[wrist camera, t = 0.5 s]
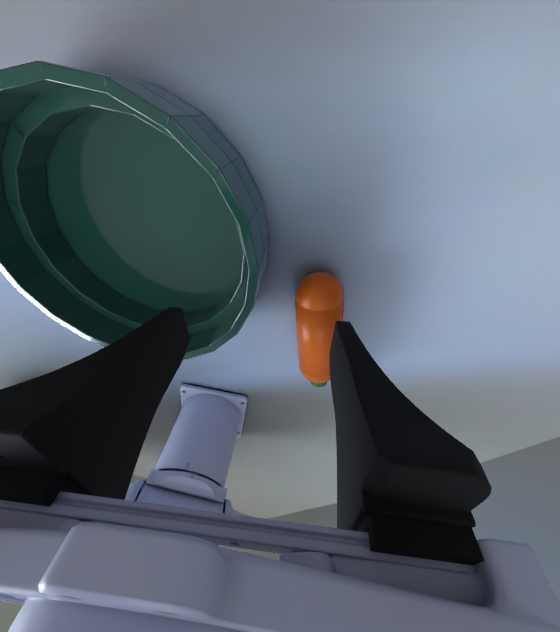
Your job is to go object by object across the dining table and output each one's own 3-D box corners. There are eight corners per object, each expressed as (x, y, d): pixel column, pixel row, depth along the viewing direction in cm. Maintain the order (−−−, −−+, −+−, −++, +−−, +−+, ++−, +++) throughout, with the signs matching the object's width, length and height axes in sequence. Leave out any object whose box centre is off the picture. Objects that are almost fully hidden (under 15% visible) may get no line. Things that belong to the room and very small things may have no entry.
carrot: (337, 367, 27) (338, 397, 24) (301, 365, 27) (298, 395, 24) (344, 263, 20) (347, 288, 17) (296, 263, 20) (291, 288, 18)
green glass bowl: (254, 336, 25) (243, 377, 21) (74, 300, 25) (29, 335, 21) (290, 114, 15) (281, 115, 11) (-21, 43, 14) (-149, 17, 10)
